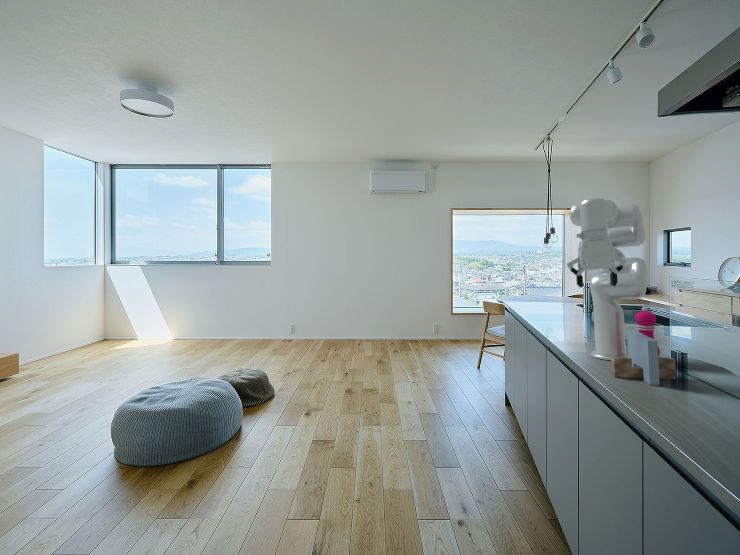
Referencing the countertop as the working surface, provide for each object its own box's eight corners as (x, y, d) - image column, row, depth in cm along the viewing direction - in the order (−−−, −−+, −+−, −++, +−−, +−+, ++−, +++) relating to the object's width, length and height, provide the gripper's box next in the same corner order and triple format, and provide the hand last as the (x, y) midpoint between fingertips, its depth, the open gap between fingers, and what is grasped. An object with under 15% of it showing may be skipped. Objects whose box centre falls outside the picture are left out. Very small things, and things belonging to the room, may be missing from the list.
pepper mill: (665, 366, 122) (662, 307, 122) (641, 366, 123) (638, 308, 123) (653, 360, 129) (650, 305, 129) (630, 361, 131) (627, 306, 130)
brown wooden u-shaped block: (614, 377, 114) (613, 358, 114) (612, 375, 116) (611, 356, 116) (676, 379, 109) (675, 359, 109) (672, 376, 111) (671, 357, 111)
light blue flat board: (629, 369, 121) (627, 331, 120) (637, 370, 120) (635, 331, 120) (649, 385, 105) (647, 340, 105) (659, 385, 105) (657, 340, 104)
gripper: (568, 237, 121) (570, 288, 121) (628, 232, 116) (631, 286, 116) (563, 238, 128) (565, 287, 128) (619, 234, 123) (622, 284, 123)
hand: (596, 286), depth 122 cm, fingers open, 9 cm apart
